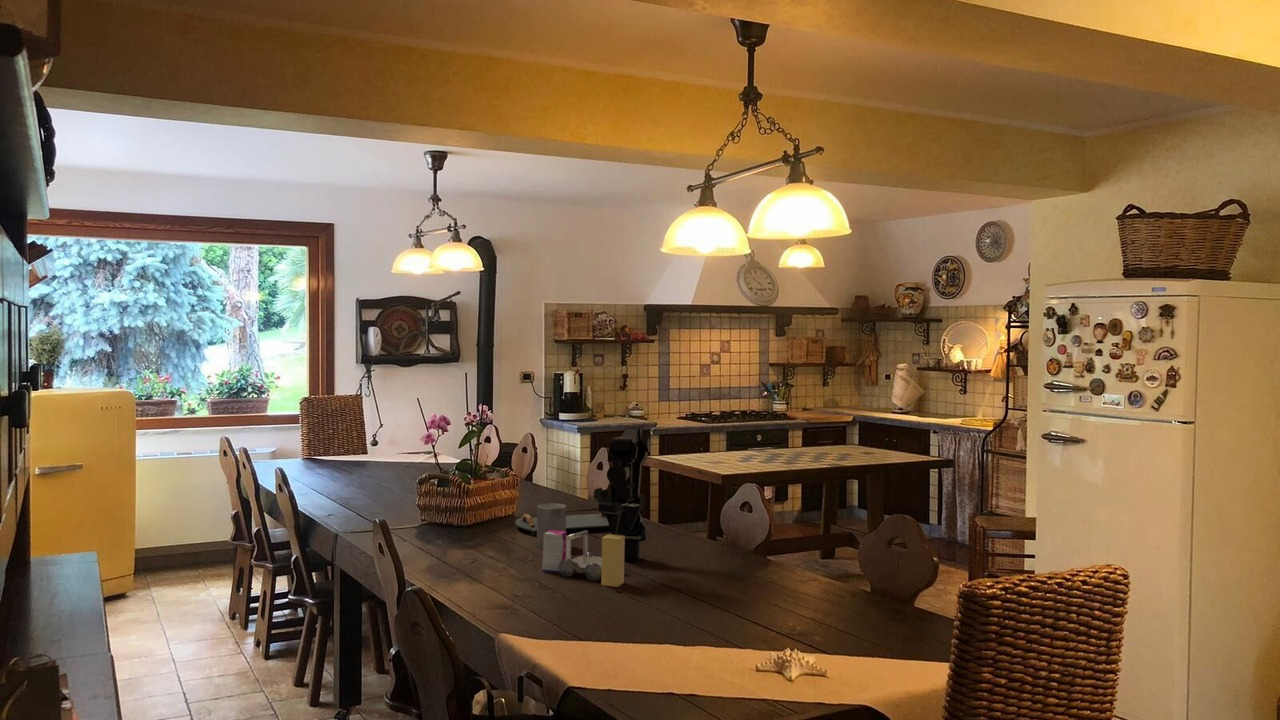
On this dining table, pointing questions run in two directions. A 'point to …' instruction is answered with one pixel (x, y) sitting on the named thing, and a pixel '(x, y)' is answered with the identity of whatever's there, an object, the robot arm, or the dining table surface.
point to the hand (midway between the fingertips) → (621, 532)
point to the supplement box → (554, 550)
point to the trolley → (581, 559)
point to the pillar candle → (550, 520)
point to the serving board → (571, 522)
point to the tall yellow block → (613, 560)
